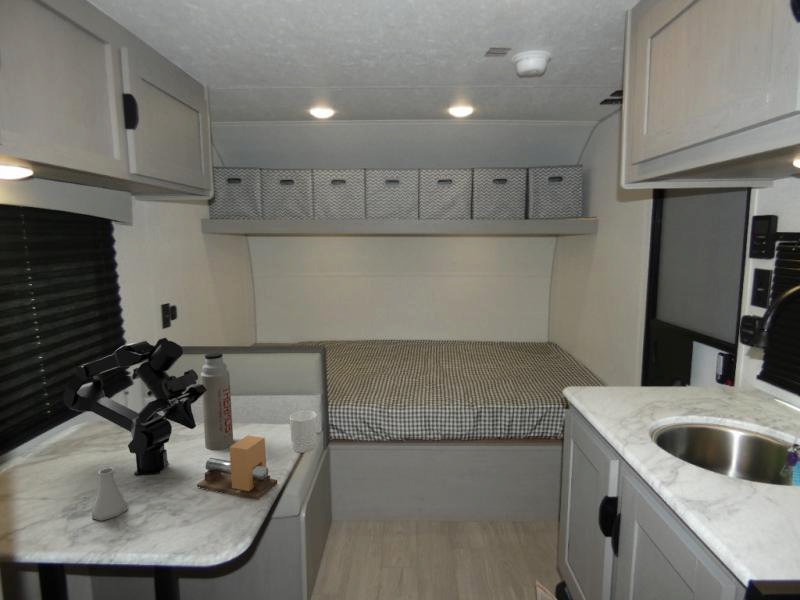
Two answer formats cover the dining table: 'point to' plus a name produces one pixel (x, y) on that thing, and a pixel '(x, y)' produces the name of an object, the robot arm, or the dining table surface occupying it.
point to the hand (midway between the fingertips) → (194, 427)
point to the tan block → (246, 461)
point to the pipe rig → (221, 480)
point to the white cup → (303, 431)
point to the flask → (108, 497)
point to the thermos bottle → (216, 403)
